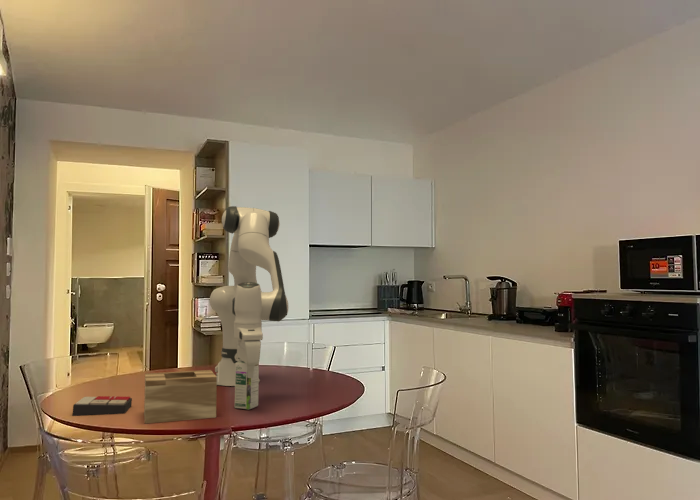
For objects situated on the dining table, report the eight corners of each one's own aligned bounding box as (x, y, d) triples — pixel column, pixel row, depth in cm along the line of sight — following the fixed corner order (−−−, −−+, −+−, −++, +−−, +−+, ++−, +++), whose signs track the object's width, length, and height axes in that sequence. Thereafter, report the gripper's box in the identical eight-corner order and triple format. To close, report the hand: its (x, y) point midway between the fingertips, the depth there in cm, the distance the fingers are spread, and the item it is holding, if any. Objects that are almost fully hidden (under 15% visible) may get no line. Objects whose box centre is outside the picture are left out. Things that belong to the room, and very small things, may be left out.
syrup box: (233, 408, 173) (234, 362, 174) (244, 404, 179) (244, 359, 179) (249, 410, 171) (249, 363, 172) (259, 405, 176) (259, 360, 177)
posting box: (144, 412, 168) (145, 373, 169) (210, 407, 175) (210, 369, 176) (144, 423, 155) (145, 381, 156) (216, 417, 162) (216, 376, 163)
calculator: (125, 402, 167) (73, 402, 164) (124, 417, 167) (71, 416, 164) (132, 395, 178) (83, 395, 175) (131, 408, 178) (82, 408, 175)
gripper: (232, 329, 185) (232, 370, 184) (243, 335, 166) (242, 381, 165) (251, 329, 187) (250, 369, 186) (264, 334, 168) (263, 380, 167)
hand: (247, 375), depth 175 cm, fingers closed on syrup box, 8 cm apart
